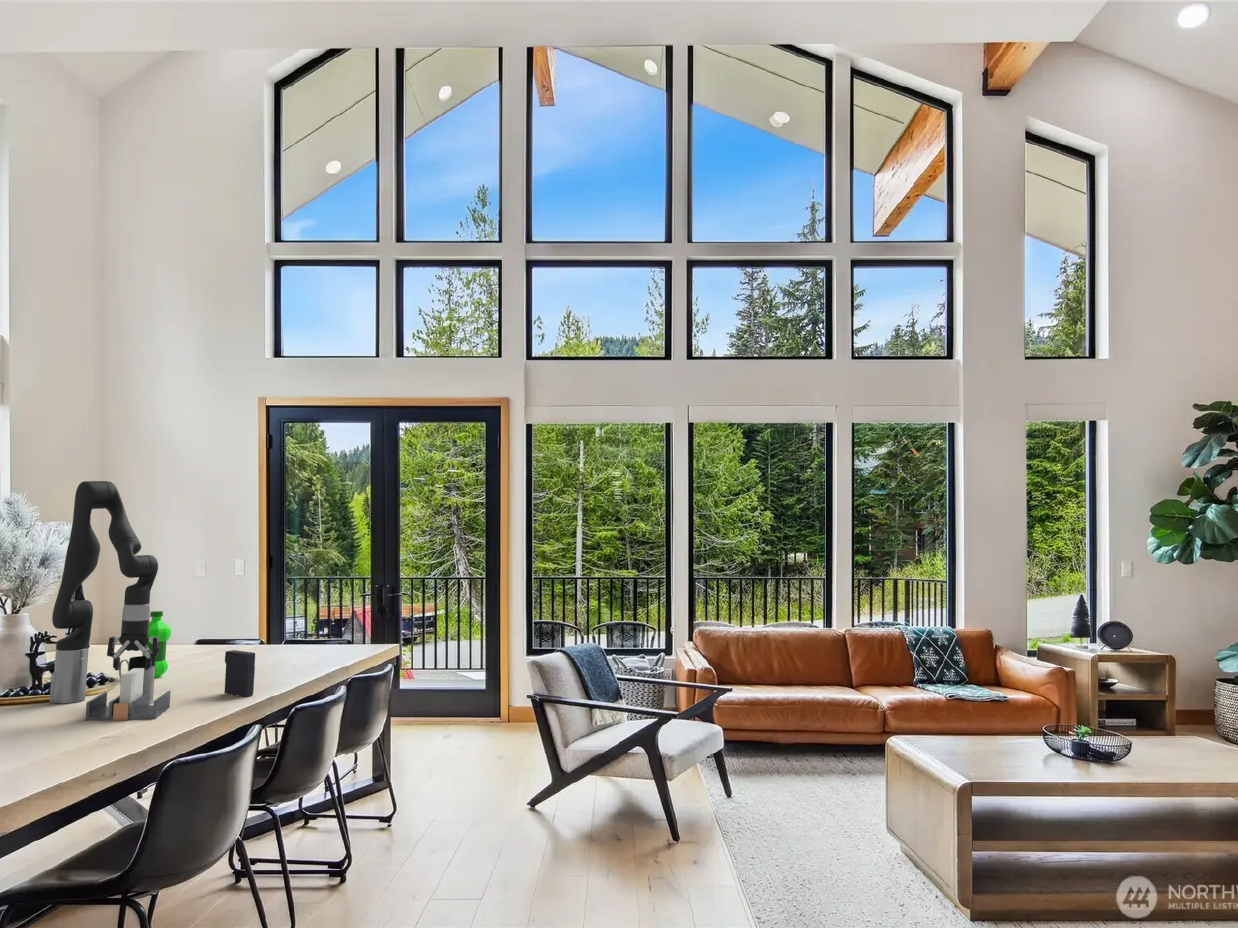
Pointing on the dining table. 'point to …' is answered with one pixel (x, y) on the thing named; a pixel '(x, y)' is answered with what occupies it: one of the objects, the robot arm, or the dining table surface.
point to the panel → (131, 686)
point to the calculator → (239, 673)
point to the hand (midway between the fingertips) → (132, 669)
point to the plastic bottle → (164, 634)
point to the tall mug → (148, 674)
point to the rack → (126, 708)
